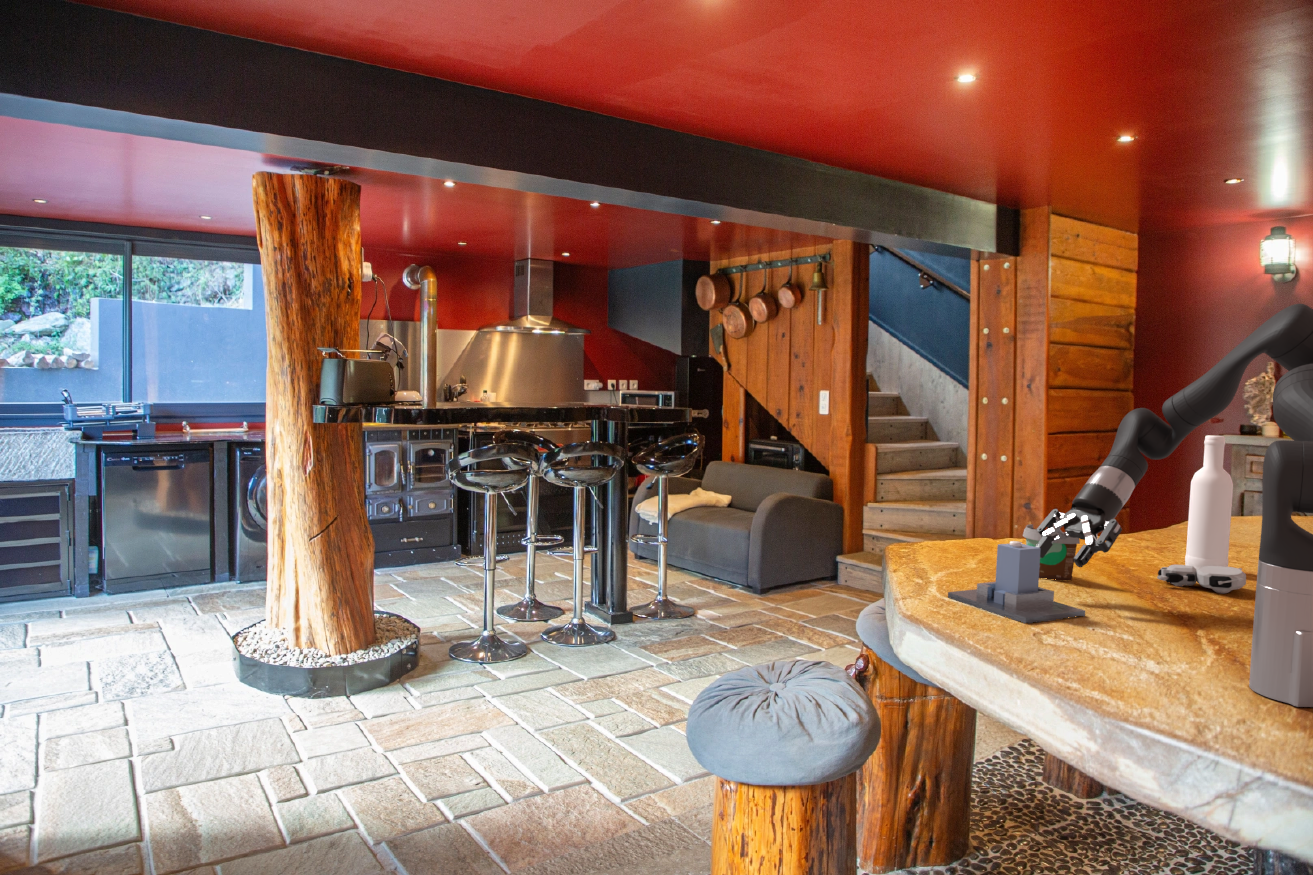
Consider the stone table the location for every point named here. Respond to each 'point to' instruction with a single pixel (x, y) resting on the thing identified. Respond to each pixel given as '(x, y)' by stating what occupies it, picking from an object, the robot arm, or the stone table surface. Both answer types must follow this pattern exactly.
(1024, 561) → the block
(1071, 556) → the food container
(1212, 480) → the bottle
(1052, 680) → the stone table surface
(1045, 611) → the plate
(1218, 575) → the robot toy
